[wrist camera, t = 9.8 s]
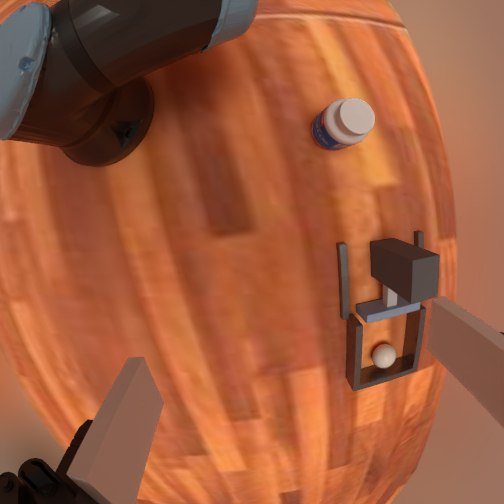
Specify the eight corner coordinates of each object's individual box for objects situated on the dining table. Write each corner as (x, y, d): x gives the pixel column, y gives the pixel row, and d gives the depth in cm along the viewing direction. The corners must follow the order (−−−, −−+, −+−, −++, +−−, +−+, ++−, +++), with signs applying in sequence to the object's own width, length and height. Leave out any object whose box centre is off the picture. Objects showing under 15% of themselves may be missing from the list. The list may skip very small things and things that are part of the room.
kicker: (354, 244, 37) (393, 264, 26) (407, 236, 37) (454, 251, 26) (356, 311, 39) (389, 348, 28) (406, 299, 39) (446, 329, 28)
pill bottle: (305, 116, 33) (326, 92, 24) (342, 110, 33) (372, 88, 24) (316, 155, 34) (341, 143, 25) (352, 148, 34) (386, 136, 25)
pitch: (336, 243, 37) (347, 249, 33) (419, 230, 37) (434, 234, 33) (340, 378, 42) (347, 392, 38) (410, 357, 42) (421, 369, 38)
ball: (366, 352, 42) (373, 343, 39) (387, 347, 42) (394, 337, 39) (373, 374, 39) (380, 366, 36) (394, 367, 39) (402, 359, 36)
